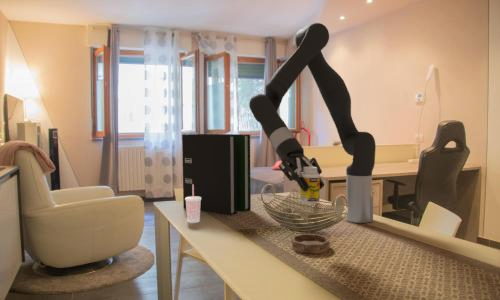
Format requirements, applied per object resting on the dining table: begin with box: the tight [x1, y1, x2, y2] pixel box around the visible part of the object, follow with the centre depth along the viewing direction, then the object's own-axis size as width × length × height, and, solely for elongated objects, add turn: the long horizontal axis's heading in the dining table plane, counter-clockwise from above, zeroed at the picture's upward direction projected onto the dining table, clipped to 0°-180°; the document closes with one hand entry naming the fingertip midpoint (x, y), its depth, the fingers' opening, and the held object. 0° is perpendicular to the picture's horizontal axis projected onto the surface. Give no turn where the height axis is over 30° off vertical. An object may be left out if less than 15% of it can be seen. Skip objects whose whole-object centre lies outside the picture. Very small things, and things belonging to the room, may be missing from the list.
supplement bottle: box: [299, 167, 321, 205], centre depth 113 cm, size 6×6×10 cm
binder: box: [181, 133, 252, 217], centre depth 167 cm, size 27×15×32 cm, turn 51°
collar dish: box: [291, 233, 330, 255], centre depth 114 cm, size 11×11×3 cm
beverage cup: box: [185, 184, 201, 224], centre depth 146 cm, size 6×6×14 cm
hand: (314, 188), depth 111 cm, fingers closed on supplement bottle, 5 cm apart
